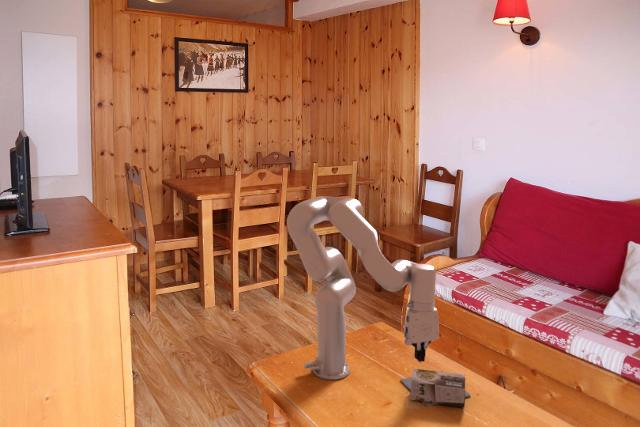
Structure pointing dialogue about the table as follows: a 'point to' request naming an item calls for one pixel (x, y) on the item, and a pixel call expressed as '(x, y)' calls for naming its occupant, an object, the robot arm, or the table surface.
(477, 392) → the table surface
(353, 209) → the robot arm
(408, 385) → the mat
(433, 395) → the coffee box
